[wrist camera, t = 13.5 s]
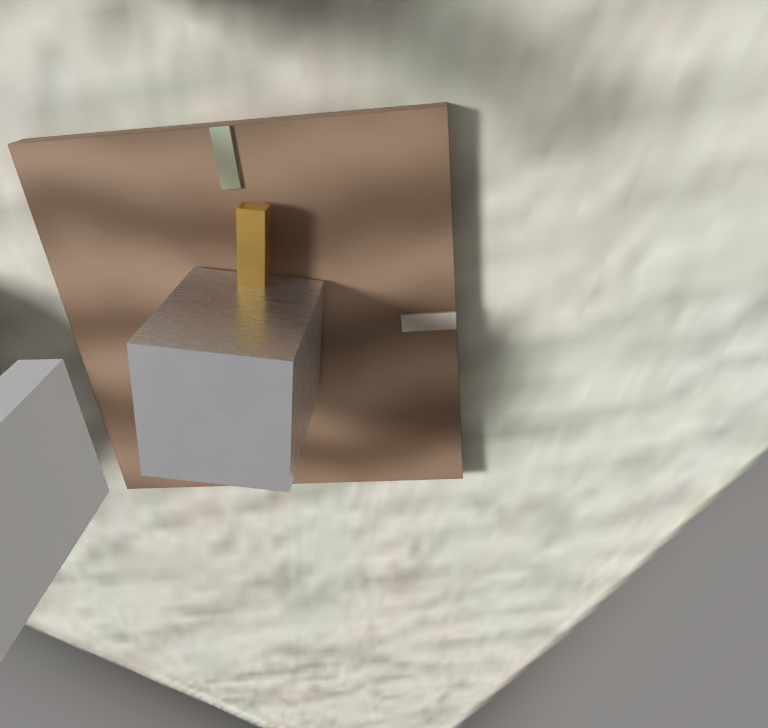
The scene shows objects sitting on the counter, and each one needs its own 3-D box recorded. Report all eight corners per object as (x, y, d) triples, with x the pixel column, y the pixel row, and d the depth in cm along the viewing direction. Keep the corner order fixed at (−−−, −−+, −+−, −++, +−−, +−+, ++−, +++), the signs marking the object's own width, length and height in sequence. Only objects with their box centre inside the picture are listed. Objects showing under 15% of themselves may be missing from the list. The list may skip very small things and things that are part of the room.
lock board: (23, 138, 35) (5, 145, 33) (446, 102, 32) (447, 107, 31) (136, 474, 45) (126, 490, 44) (461, 463, 43) (462, 480, 41)
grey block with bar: (318, 392, 39) (289, 492, 31) (200, 378, 39) (141, 475, 31) (327, 207, 33) (295, 271, 26) (190, 192, 34) (116, 251, 26)
